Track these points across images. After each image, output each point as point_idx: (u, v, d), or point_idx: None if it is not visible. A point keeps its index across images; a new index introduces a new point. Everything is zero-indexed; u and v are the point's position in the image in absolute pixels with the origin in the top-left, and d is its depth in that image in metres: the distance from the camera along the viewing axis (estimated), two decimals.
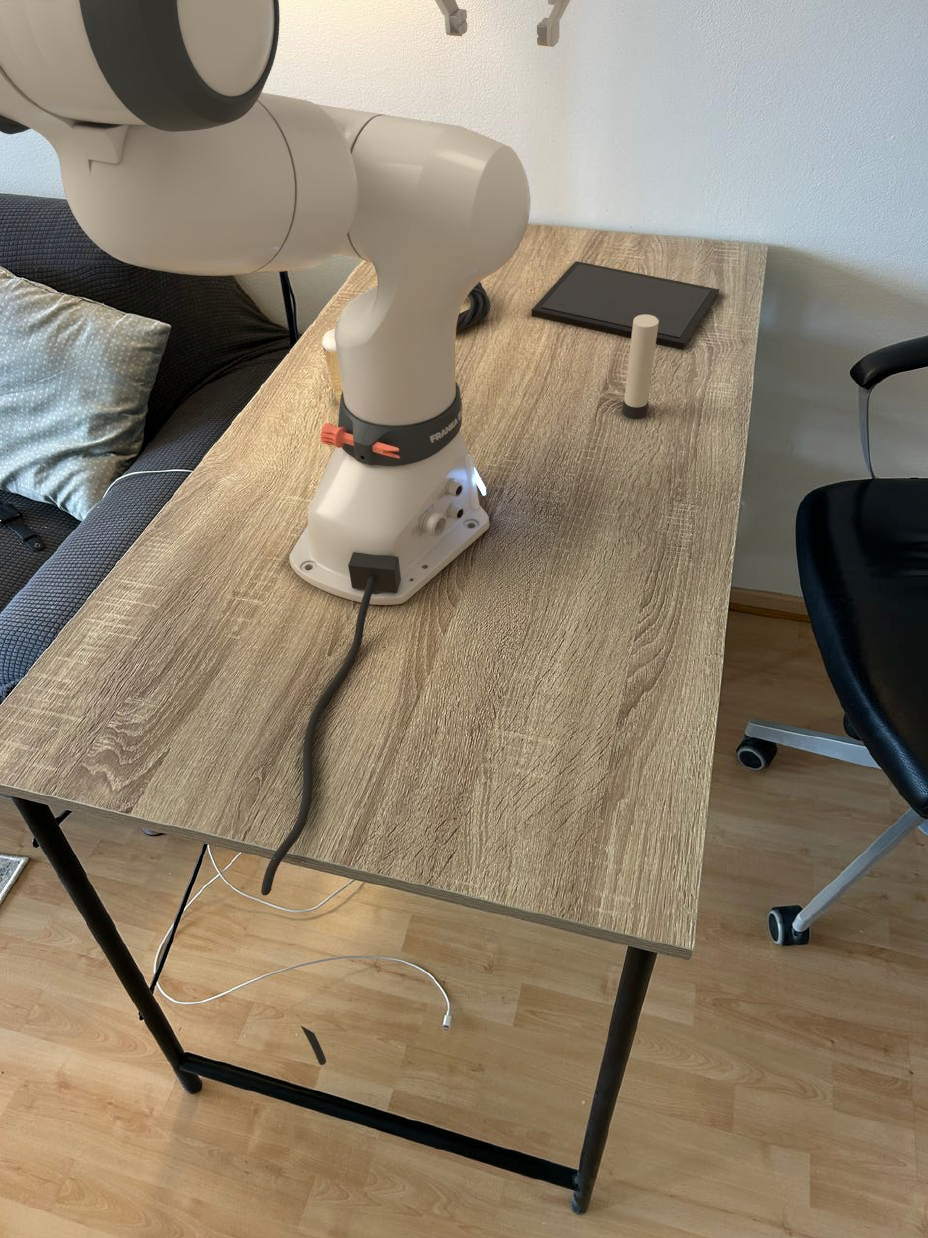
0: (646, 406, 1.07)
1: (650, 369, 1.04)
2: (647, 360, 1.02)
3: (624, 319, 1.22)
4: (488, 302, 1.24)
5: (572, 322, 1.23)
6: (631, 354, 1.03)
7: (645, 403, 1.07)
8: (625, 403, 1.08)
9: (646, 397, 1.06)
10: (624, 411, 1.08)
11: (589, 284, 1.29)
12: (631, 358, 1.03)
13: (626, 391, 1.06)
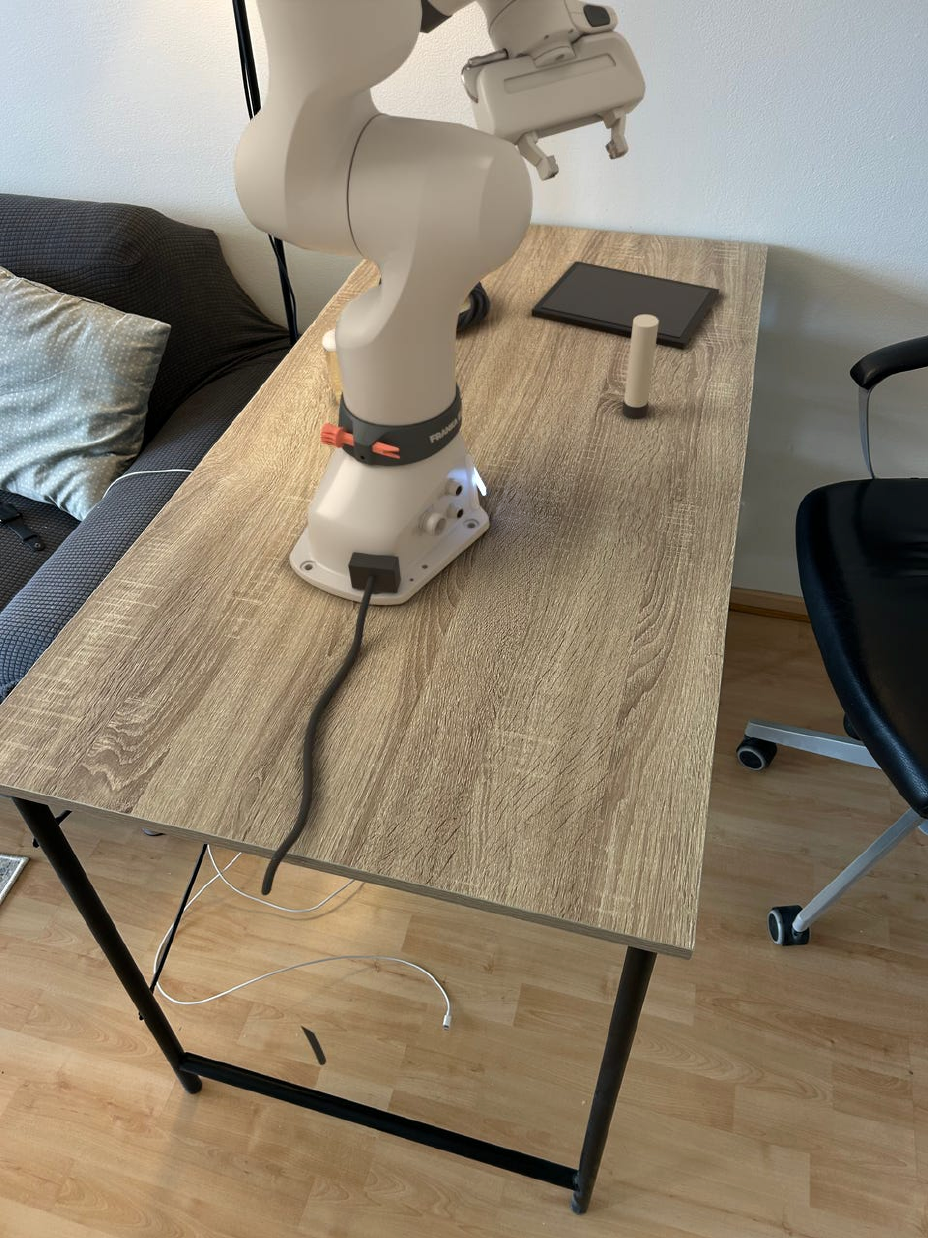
0: (646, 406, 1.07)
1: (650, 369, 1.04)
2: (647, 360, 1.02)
3: (624, 319, 1.22)
4: (488, 302, 1.24)
5: (572, 322, 1.23)
6: (631, 354, 1.03)
7: (645, 403, 1.07)
8: (625, 403, 1.08)
9: (646, 397, 1.06)
10: (624, 411, 1.08)
11: (589, 284, 1.29)
12: (631, 358, 1.03)
13: (626, 391, 1.06)
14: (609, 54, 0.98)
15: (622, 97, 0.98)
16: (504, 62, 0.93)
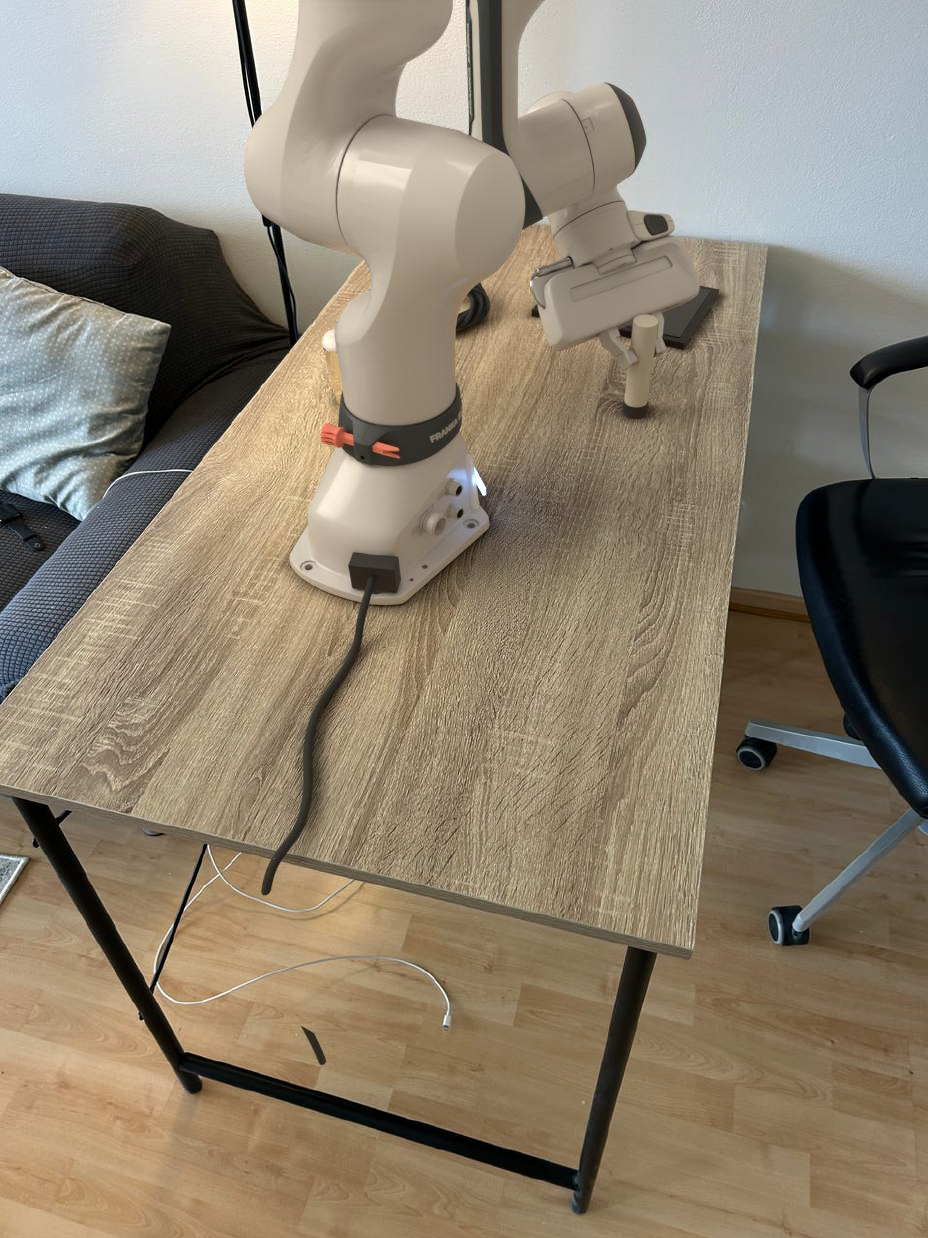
0: (646, 406, 1.07)
1: (650, 369, 1.04)
2: (647, 360, 1.02)
3: None
4: (488, 302, 1.24)
5: None
6: None
7: (645, 403, 1.07)
8: (625, 403, 1.08)
9: (646, 397, 1.06)
10: (624, 411, 1.08)
11: None
12: None
13: (626, 391, 1.06)
14: (666, 256, 1.03)
15: (679, 296, 1.03)
16: (570, 272, 0.98)
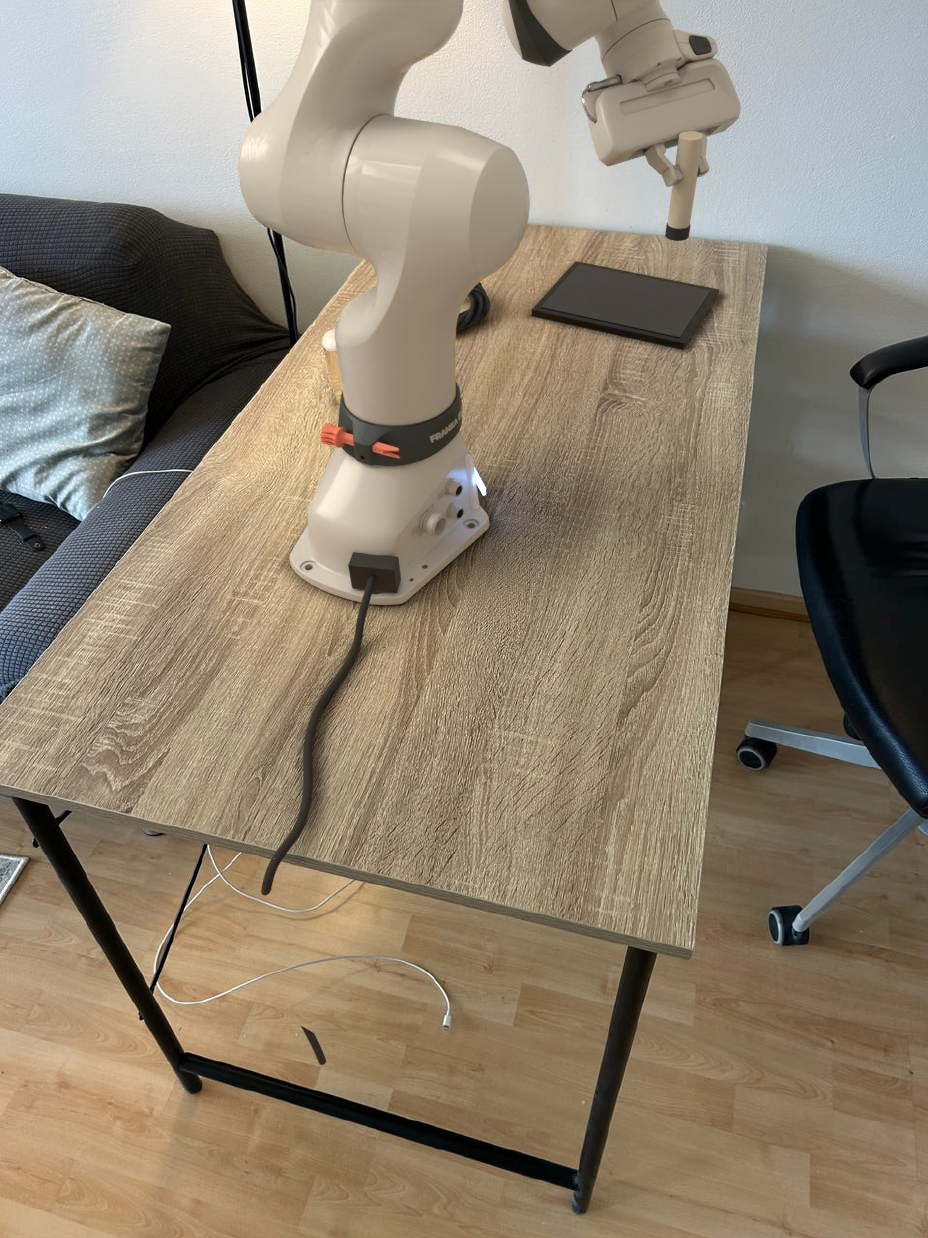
0: (688, 228, 1.13)
1: (694, 187, 1.09)
2: (691, 176, 1.08)
3: (624, 319, 1.22)
4: (488, 302, 1.24)
5: (572, 322, 1.23)
6: None
7: (688, 225, 1.13)
8: (668, 225, 1.13)
9: (689, 218, 1.12)
10: (667, 234, 1.14)
11: (589, 284, 1.29)
12: None
13: (670, 212, 1.12)
14: (709, 79, 1.09)
15: (721, 117, 1.09)
16: (620, 87, 1.04)
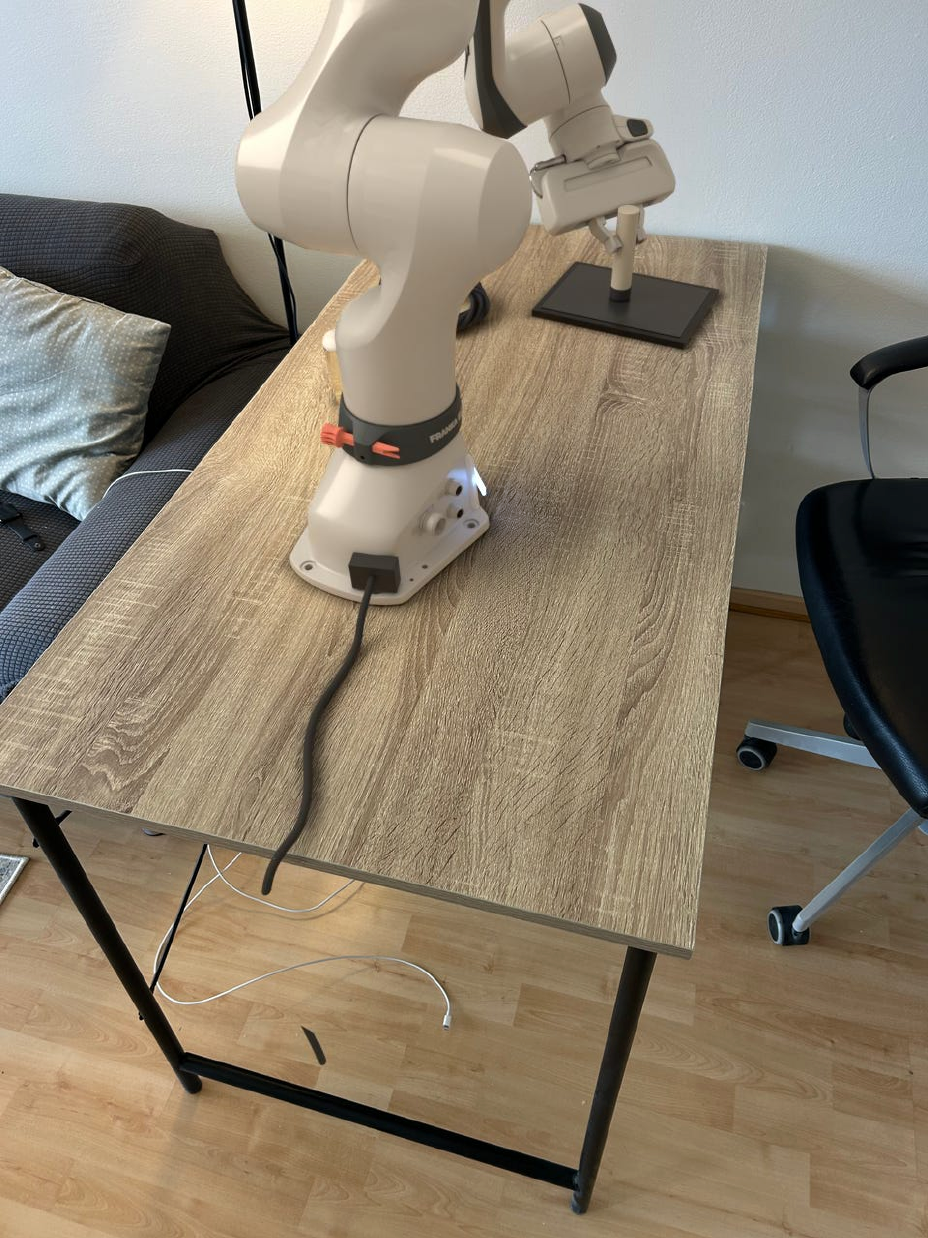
0: (630, 289, 1.24)
1: (633, 254, 1.21)
2: (630, 245, 1.19)
3: (624, 319, 1.22)
4: (488, 302, 1.24)
5: (572, 322, 1.23)
6: None
7: (629, 286, 1.24)
8: (611, 287, 1.24)
9: (629, 281, 1.23)
10: (611, 294, 1.25)
11: (589, 284, 1.29)
12: None
13: (612, 276, 1.23)
14: (646, 157, 1.20)
15: (657, 191, 1.20)
16: (564, 166, 1.15)
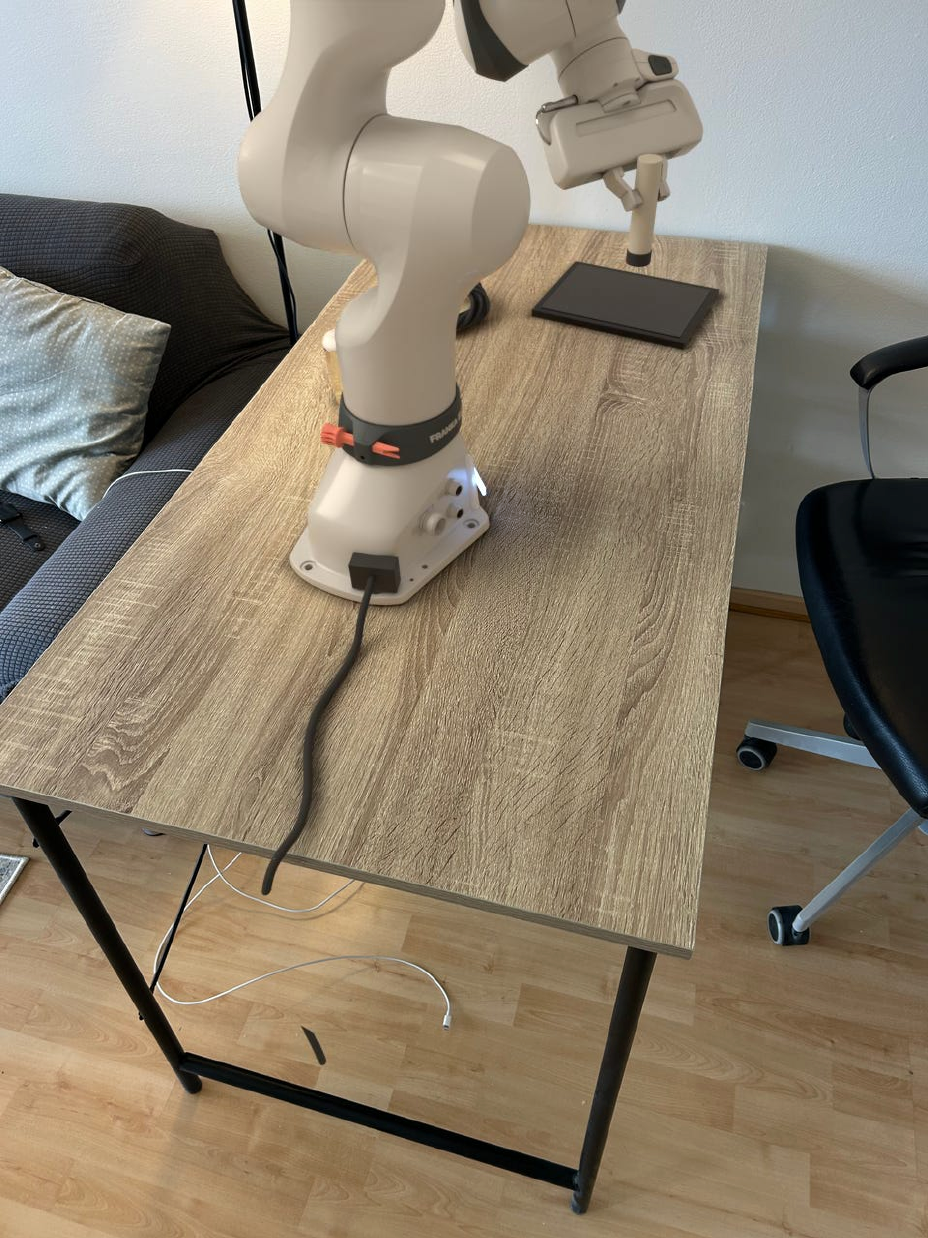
0: (650, 254, 1.08)
1: (654, 212, 1.05)
2: (651, 200, 1.03)
3: (624, 319, 1.22)
4: (488, 302, 1.24)
5: (572, 322, 1.23)
6: None
7: (649, 250, 1.08)
8: (629, 251, 1.09)
9: (650, 243, 1.08)
10: (628, 260, 1.09)
11: (589, 284, 1.29)
12: None
13: (630, 238, 1.08)
14: (670, 100, 1.04)
15: (682, 140, 1.05)
16: (576, 108, 1.00)
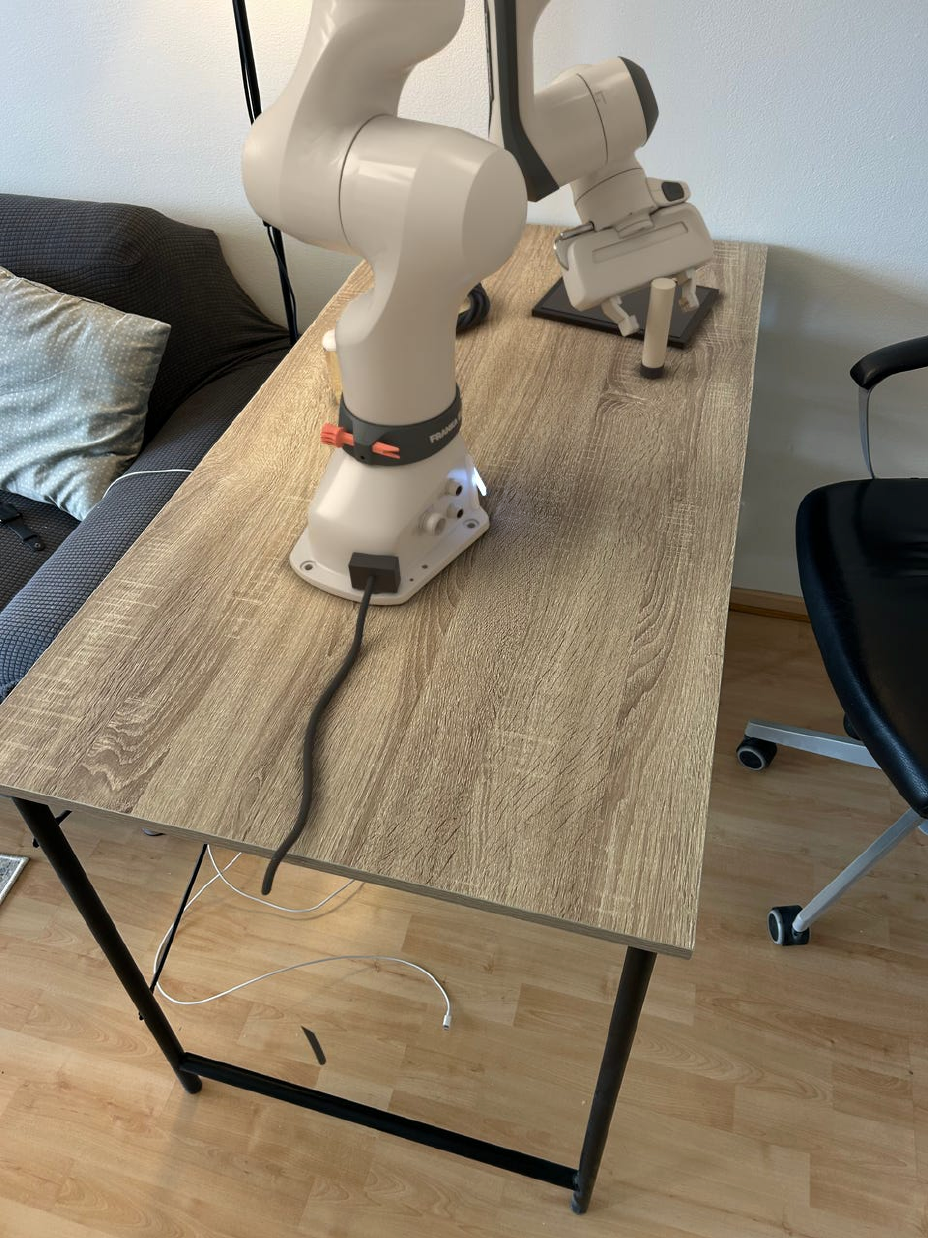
0: (662, 367, 1.13)
1: (667, 331, 1.09)
2: (664, 321, 1.08)
3: None
4: (488, 302, 1.24)
5: (572, 322, 1.23)
6: (649, 316, 1.08)
7: (662, 364, 1.13)
8: (643, 364, 1.13)
9: (663, 358, 1.12)
10: (641, 372, 1.14)
11: None
12: (649, 320, 1.09)
13: (644, 352, 1.12)
14: (682, 222, 1.09)
15: (694, 260, 1.09)
16: (592, 235, 1.04)
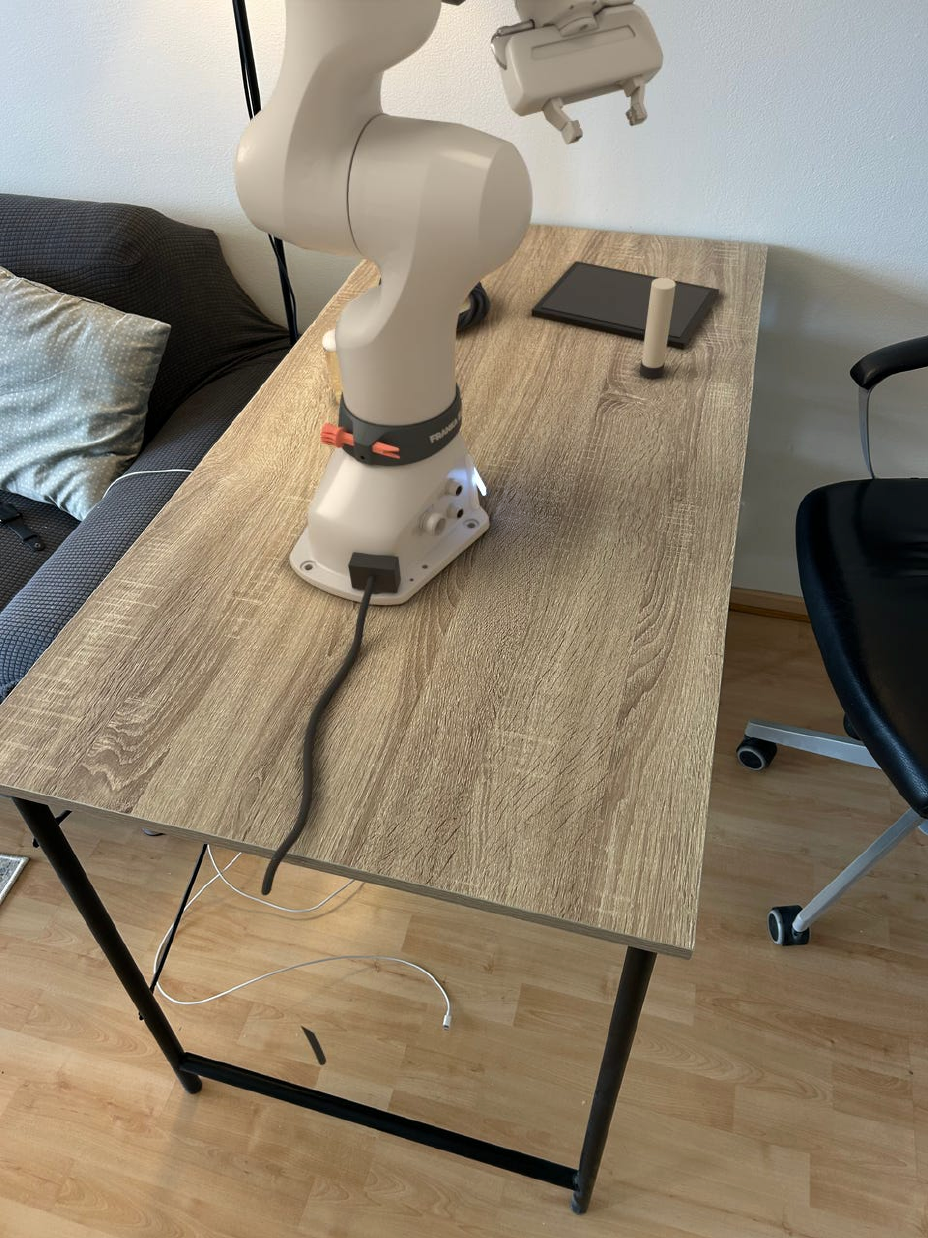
0: (662, 367, 1.13)
1: (667, 331, 1.09)
2: (664, 321, 1.08)
3: (624, 319, 1.22)
4: (488, 302, 1.24)
5: (572, 322, 1.23)
6: (649, 316, 1.08)
7: (662, 364, 1.13)
8: (643, 364, 1.13)
9: (663, 358, 1.12)
10: (641, 372, 1.14)
11: (589, 284, 1.29)
12: (649, 320, 1.09)
13: (644, 352, 1.12)
14: (629, 26, 1.03)
15: (642, 66, 1.03)
16: (531, 31, 0.99)
